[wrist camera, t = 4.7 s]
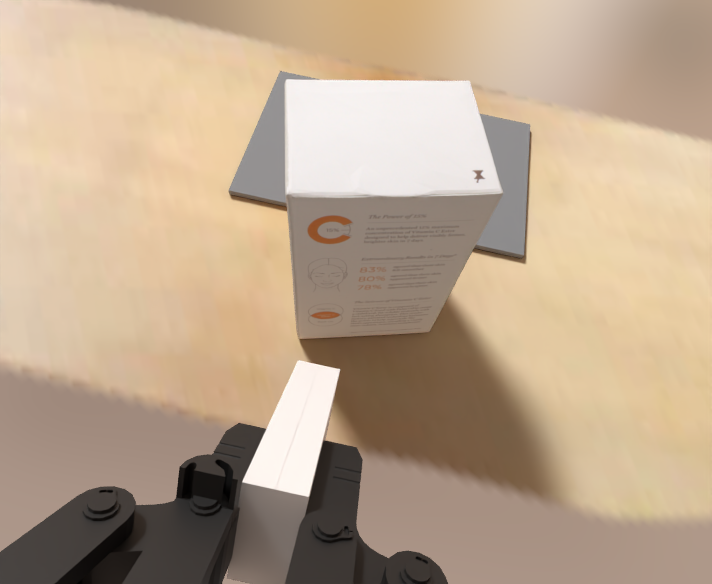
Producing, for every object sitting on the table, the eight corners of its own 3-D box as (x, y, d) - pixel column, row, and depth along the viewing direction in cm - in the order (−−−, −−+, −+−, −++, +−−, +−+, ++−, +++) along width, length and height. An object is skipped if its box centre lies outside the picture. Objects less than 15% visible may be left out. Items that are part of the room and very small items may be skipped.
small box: (415, 245, 32) (474, 76, 21) (431, 334, 29) (509, 194, 18) (292, 249, 31) (282, 73, 20) (295, 341, 28) (285, 198, 17)
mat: (528, 128, 38) (530, 124, 38) (521, 258, 32) (524, 255, 32) (280, 75, 39) (280, 71, 38) (229, 194, 33) (228, 190, 32)
